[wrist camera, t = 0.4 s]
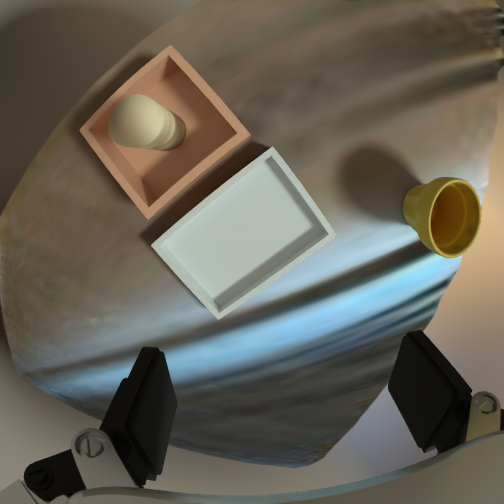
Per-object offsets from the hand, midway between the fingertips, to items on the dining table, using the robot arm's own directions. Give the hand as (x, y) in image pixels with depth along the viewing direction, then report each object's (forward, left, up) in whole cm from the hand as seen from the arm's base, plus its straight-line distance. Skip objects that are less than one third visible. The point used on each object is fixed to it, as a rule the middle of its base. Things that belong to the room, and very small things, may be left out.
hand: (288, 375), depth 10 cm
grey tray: (+3, 0, -29) cm, 29 cm away
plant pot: (-21, +13, -29) cm, 38 cm away
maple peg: (+2, -17, -28) cm, 33 cm away
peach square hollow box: (+2, -17, -29) cm, 34 cm away
